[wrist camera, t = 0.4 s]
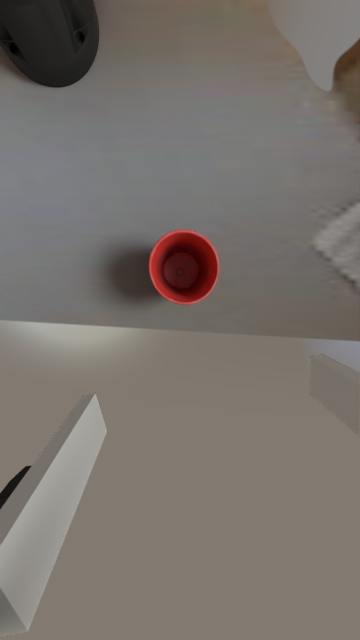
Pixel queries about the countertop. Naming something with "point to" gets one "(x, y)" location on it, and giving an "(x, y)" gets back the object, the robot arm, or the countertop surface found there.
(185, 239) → the flower pot
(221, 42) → the countertop surface
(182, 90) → the countertop surface
